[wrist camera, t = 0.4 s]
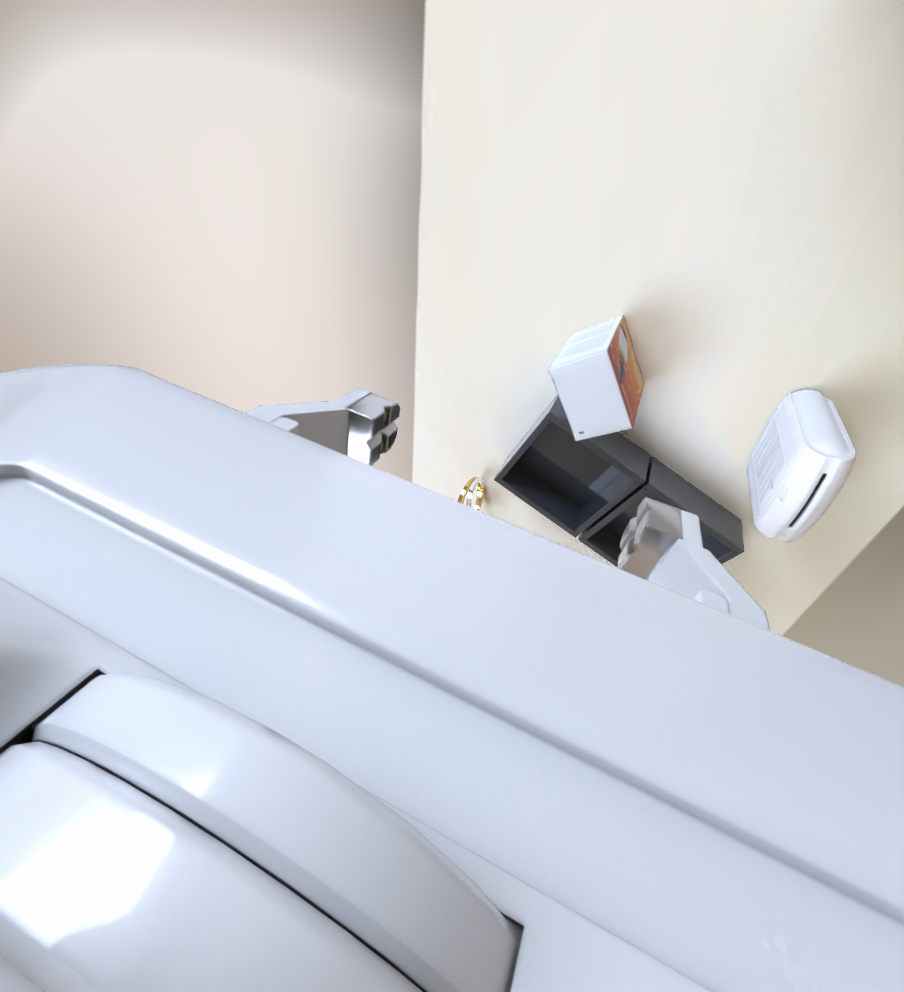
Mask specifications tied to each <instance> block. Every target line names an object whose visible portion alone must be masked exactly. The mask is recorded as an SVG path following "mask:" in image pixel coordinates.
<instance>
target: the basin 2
mask: <svg viewBox="0 0 904 992" xmlns="http://www.w3.org/2000/svg"><path fill="white" fill-rule="evenodd" d="M644 497H647V498H650V499H653V500H656V501H659V502H661V503H664V504H667V505H670V506H673V507H676V508H678V509H681V510H683V511H686V512H689V513H692V514H695V515H697V516H698V517H699V522H700V529H701V536H702V543H703V548H704V549H707V550H709V551H710V552H711V554H712V555H713V556H714V557H715V558H716V559H717V560H718V561H719V562H720V563H721V564H722V563H724V562H726V561H728V560H730V559H732V558H734V557H736V556H737V555H739V554H741V553H743V552H744V543H743V533H742V524H741V523H742V522H741V520H740V519H739V518H738V517H736V516H735V515H733V514H732V513H731V512H729V511H728V510H726V509H725V508H724V507H722V506H721V505H719V504H718V503H717V502H715V501H714V500H712V499H711V498H710V497H708V496H707V495H705V494H704V493H703V492H701V491H700V490H698V489H697V488H696V487H694V486H693V485H691V484H690V483H689V482H687V481H686V480H684V479H683V478H682V477H680V476H679V475H678V474H676V473H675V472H673V471H672V470H671V469H669V468H668V467H666V466H665V465H664V464H662V463H661V462H659V461H658V460H657V459H655V458H654V457H652V458H651V459H650V460H649V464H648V470H647V476H646V481H645V482H644V483H643V484H641V485H640V486H639V487H637V488H636V489H635V490H634V491H632V492H631V493H630V494H629V495H627V496H626V497H625V498H624V499H622V500H621V501H620V502H619V503H618V504H616V505H615V506H614V507H613V508H611V509H610V510H609V511H608V512H606V513H605V514H604V515H603V516H601V517H600V518H599V519H598V520H596V521H595V522H594V523H593V524H591V525H590V526H589V527H588V528H586V529H585V530H584V531H583V532H581V533H580V534H579V538H578V540H580V541H581V542H582V543H584V544H585V545H587V546H588V547H589V548H591V549H592V550H594V551H595V552H596V553H598V554H599V555H601V556H602V557H603V558H605V559H606V560H608V561H609V562H611V563H612V564H613V565H615V566H616V567H617V566H618V557H619V555H620V553H621V552H622V550H621V549H620V542H621V538H622V535H623V533H624V530H625V528H626V526H627V524H628V523H629V521H630V519H632V518H635V517H636V515H637V507H638V506H639V504H640V503H641V501H642V500H643V499H644Z"/></svg>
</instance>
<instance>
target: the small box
mask: <svg viewBox="0 0 904 992" xmlns="http://www.w3.org/2000/svg"><path fill="white" fill-rule="evenodd" d="M548 372H549V374H550V376H551V378H552V380H553V383H554V385H555V387H556V390H557V393H558V395H559V398H560V400H561V403H562V405H563V408H564V410H565V413H566V416H567V418H568V421H569V424H570V426H571V429H572V432H573V435H574V439H575V441H578V440H583V439H587V438H592V437H596V436H601V435H605V434H609V433H614V432H618V431H622V430H626V429H631V428H633V424H634V421H635V417H636V413H637V409H638V406H639V402H640V398H641V394H642V391H643V387H644V381H643V378H642V375H641V372H640V369H639V366H638V363H637V359H636V356H635V352H634V349H633V345H632V341H631V338H630V335H629V331H628V328H627V324H626V321H625V317H624V315H620V316H618V317H615V318H612V319H610V320H607V321H604V322H602V323H599V324H596V325H594V326H591V327H588V328H586V329H583V330H581V331H578V332H576V333H573V334H572V335H571V337H570V338H569V340H568V341H567V343H566V344H565V345H564V347H563V348H562V350H561V351H560V353H559V354H558V356H557V357H556V359H555V360H554V361H553V363H552V364H551V366H550V367H549V369H548Z"/></svg>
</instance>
